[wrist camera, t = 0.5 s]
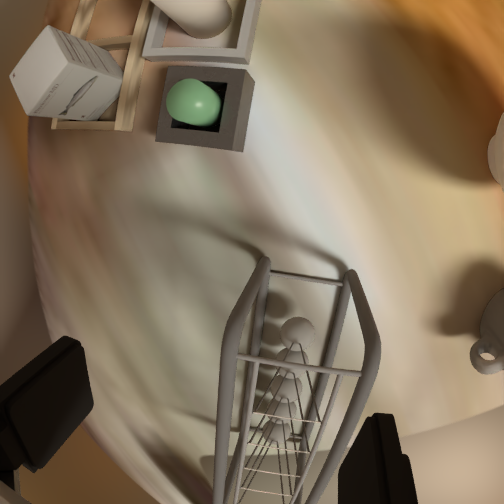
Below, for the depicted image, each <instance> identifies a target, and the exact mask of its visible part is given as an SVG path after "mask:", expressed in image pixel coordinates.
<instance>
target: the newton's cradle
mask: <svg viewBox="0 0 504 504" xmlns="http://www.w3.org/2000/svg"><path fill="white" fill-rule="evenodd" d="M270 268H271V261H270V259H269V258H268V257H266V256H264V257H262V258H261V259H260V260H259V262H258V264H257V266H256V268H255V270H254V272H253V273H252V275H251V277H250V279H249V281H248V283H247V285H246V286H245V288H244V290H243V292H242V294H241V296H240V298H239V299H238V301H237V303H236V305H235V307H234V309H233V310H232V312H231V314H230V316H229V319H228V321H227V324H226V327H225V331H224V335H223V340H222V347H221V357H220V372H219V387H218V403H217V420H216V438H215V458H214V479H213V502H212V504H227V502H228V499H229V495H230V492H231V489H232V486H233V482H234V479H235V475H236V472H237V469H238V475H237V482H236V488H235V494H234V501H233V504H239V503H240V502H241V500H242V498H243V497H244V495H245V493H246V491H247V489H248V488H249V485H250V484H251V482H252V480H253V478H254V476H255V474H256V472H257V471H261V470H258V468H259V467H260V465H261V463H262V461H263V459H264V457H265V455H266V453H267V451H268V449H269V448H275V447H270V445H271V444H277V448H275V449H278V459H279V469H280V473H274V474H280V477H281V478H280V479H281V489H282V494H280V495H282V498H283V504H284V494H283V485H282V475H287V474H281V466H280V456H279V449H281V450H285V451H286V459H287V468H288V476H289V486H290V495H286V496H292V499H291V501H290V503H289V504H301V499H302V490H303V481H304V479H305V477H306V475H307V472H308V470H309V468H310V465H311V463H312V460H313V458H314V455H315V453H316V450H317V448H318V445H319V443H320V440H321V438H322V435H323V432H324V430H325V427H326V424H327V422H328V419H329V416H330V413H331V411H332V408H333V405H334V402H335V399H336V396H337V393H338V390H339V387H340V384H341V381H342V378H343V375H347V376H356V377H359V379H358V382H357V385H356V387H355V390H354V393H353V396H352V398H351V401H350V404H349V406H348V409H347V411H346V414H345V417H344V419H343V422H342V424H341V427H340V429H339V431H338V434H337V436H336V439H335V441H334V443H333V446H332V448H331V450H330V452H329V455H328V457H327V459H326V462H325V464H324V466H323V468H322V470H321V472H320V474H319V476H318V478H317V481H316V483H315V485H314V487H313V489H312V491H311V493H310V495H309V497H308V499H307V500H306V503H305V504H317V502H318V501H319V499H320V497H321V495H322V493H323V492H324V490H325V488H326V486H327V485H328V483H329V481H330V479H331V477H332V475H333V473H334V471H335V469H336V467H337V465H338V463H339V462H340V459H341V457H342V455H343V453H344V451H345V449H346V447H347V445H348V443H349V441H350V439H351V436H352V434H353V432H354V430H355V428H356V425H357V423H358V421H359V419H360V416H361V414H362V412H363V409H364V407H365V404H366V402H367V399H368V397H369V394H370V392H371V389H372V387H373V384H374V382H375V379H376V376H377V373H378V369H379V364H380V359H381V340H380V336H379V333H378V330H377V327H376V324H375V321H374V318H373V315H372V313H371V310H370V307H369V304H368V301H367V299H366V296H365V293H364V291H363V288H362V285H361V283H360V280H359V277H358V275H357V273H356V271H355V270H353V269H350V270H348V271H347V272H346V274H345V276H344V280H343V283H341V282H334V281H327V280H321V279H314V278H307V277H301V276H294V275H288V274H281V273H275V272H270ZM270 275H271V276H278V277H284V278H290V279H297V280H304V281H310V282H317V283H323V284H330V285H337V286H342V288H341V293H340V298H339V302H338V307H337V311H336V316H335V320H334V324H333V328H332V332H331V337H330V341H329V345H328V348H327V352H326V356H325V360H324V364H323V367H322V366H314V365H308V363H309V362H308V357H307V355H306V353H305V352H304V351H303V350H305V349H307V348H308V347H310V346H311V344H312V343H313V341H314V338H315V329H314V326H313V325H312V323H311V322H310V321H309V320H307V319H305V318H302V317H293V318H291V319H289V320H287V321H286V322H285V323H284V324H283V326H282V328H281V331H280V337H281V341H282V343H283V344H284V346H285V347H286V348H284V349H283V350H281V351H280V352H279V353H278V355H277V357H276V360H275V359H269V358H263V357H259V350H260V343H261V336H262V329H263V321H264V314H265V307H266V299H267V292H268V284H269V277H270ZM351 292H352V296H353V300H354V303H355V307H356V311H357V315H358V318H359V322H360V326H361V330H362V334H363V338H364V343H365V353H364V361H363V366H362V370H361V371H355V370H346V369H337V368H332V364H333V361H334V357H335V353H336V350H337V346H338V342H339V338H340V335H341V331H342V327H343V323H344V319H345V315H346V310H347V306H348V302H349V297H350V293H351ZM256 295H257V301H256V309H255V317H254V326H253V334H252V342H251V350H250V355H247V354H241V353H238V350H239V343H240V338H241V334H242V330H243V326H244V323H245V321H246V318H247V316H248V314H249V311H250V309H251V307H252V304H253V302H254V300H255V297H256ZM237 359H241V360H247V361H249V366H248V374H247V382H246V389H245V397H244V405H243V413H242V420H241V428H240V433H239V438H238V442H237V445H236V448H235V451H234V455H233V458H232V461H231V464H230V468H229V471H228V474H227V477H226V467H227V457H228V447H229V437H230V427H231V417H232V407H233V397H234V387H235V377H236V368H237ZM259 363H263V364H269V365H275V366H276V369H277V372H276V374H275V376H274V378H273V379H272V381H271V383H270V385H269V386H268V388H267V390H266V392H265V393H264V395H263V397H262V399H261V400H260V402H259V404H258V406H257V407H256V409H255V411H253V412H252V409H253V402H254V396H255V389H256V382H257V376H258V369H259ZM308 371H314V372H321V375H320V379H319V382H318V386H317V389H316V393H315V396H314V393H313V389H312V385H311V381H310V377H309V373H308ZM278 372H279V374H280V375H278V376H277V374H278ZM305 372H306V373H307V377H308V381H309V385H310V389H311V393H312V397H313V403H312V406H311V410H310V413H309V416H308V419H307V420H304V419H303V414H302V409H301V403H300V398H299V396H300V395H301V392H302V383H301V381H300V379H299V378H298V377H300V376H302V375H303V374H304V373H305ZM330 374H337V378H336V381H335V384H334V387H333V390H332V393H331V397H330V400H329V403H328V406H327V409H326V412H325V414H324V417H323V420H322V422H321V421H320V417H319V413H318V410H319V407H320V404H321V401H322V398H323V395H324V391H325V388H326V385H327V381H328V378H329V375H330ZM270 387H271V393H272V395H273V399H272V400H271V401H270V402H269V403H268V406H267V411H266V412H265V414H262V413H257V412H256V411H257V410H258V408H259V406H260V404H261V403H262V401H263V399H264V397H265V396H266V394H267V392H268V390H269V388H270ZM297 398H298V402H299V407H300V412H301V418H302V420H301V419H294V417H295V415H296V405H295V403H294V402H293V401H295V400H296V399H297ZM252 413H256V414H261V415H264V416H263V418H262V420H261V422H260V423H259V425H258V427H257V429H252V428H250V421H251V415H252ZM266 415H267V416H268V417H269V419H270V420H269V421H267V422H266V423H265V425H264V427H263V430H258V429H259V427H260V425H261V423H262V422H263V420H264V418H265V416H266ZM316 417H318V421H319V422H317V421H315V420H316ZM292 420H299V421H302V423H303V428H304V432H303V435H302V436H295V435H294V430H293V424H292ZM290 421H291V427H292V434H293V435H290V432H291V431H290V426H289V424H288V422H290ZM304 421H307V423H306V426H305V424H304ZM314 423H321V426H320V429H319V431H318V434H317V437H316V440H315V442H314V445H313V448H312V450H311V452H310V451H309V445H308V440H309V437H310V434H311V431H312V429H313V426H314ZM249 431H255V432H254V434H253V436H252V438H251V440H250V441H249V442H247V440H248V434H249ZM257 432H260V433H263V434H262V436H261V438H260V440H259V442H258V444H252V443H251V442H252V440H253V438H254V436H255V434H256V433H257ZM263 437H264V438H265V440H266V441H265V443H264V445H259V443H260V441H261V440H262V438H263ZM289 437H292V438H293V441H294V448H295V450H289V449H287V447H286V440H287V439H288V438H289ZM295 438H299V439H301V442H300V447H299V451H297V450H296V444H295ZM267 441H268V442H269V443H270V444H269V446H265V444H266V442H267ZM283 442H285V449H282V448H279V446H278V444H281V443H283ZM247 444H252V445H257V446H256V447H255V449H254V451H253V453H252V455H251V457H250V459H249V460H248V462H247V464H246V466H245V467H243V465H244V458H245V453H246V446H247ZM258 446H263V447H262V449H261V451H260V453H259V455H258V457H257V459H256V461H255V463H254V465H253V466H252V468H251V469H250V468H246V467H247V465H248V464H249V462H250V460H251V458H252V456H253V454H254V453H255V451H256V449H257V447H258ZM264 447H268V448H267V450H266V452H265V454H264V456H263V458H262V461H261V463H260V464H259V466H258V468H257V470H255V469H253V467H254V466H255V464H256V462H257V460H258V458H259V456H260V454H261V452H262V450H263V448H264ZM306 449H307V450H308V452H306ZM287 450H288V451H295V455H296V461H297V472H296V476H295V475H290V473H289V465H288V456H287ZM297 452H299V453H298V457H297ZM306 453H310V455H309V458H308V460H307V463H306V466H305V458H306ZM238 465H239V468H238ZM243 468H245V469H250V472H249V474H248V476H247V477H246V479H245V481H244V483H243V485H242V486H241V487H240V483H241V476H242V471H243ZM252 470H255V471H256V472H255V474H254V475H253V477H252V479H251V481H250V483H249V485H248V487H247V488H243V489H246V490H245V492H244V494H243V496H242V498H241V499H240V501H239V503H237V500H238V494H239V488H242V487H243V486H244V484H245V482H246V480H247V479H248V477H249V475H250V473H251V471H252ZM261 472H267V471H261ZM267 473H273V472H267ZM290 476H295V477H296V480H295V488H294V494H293V495H292V490H291V483H290V482H291V481H290ZM225 477H226V480H225ZM248 490H253V489H248ZM253 491H258V490H253ZM259 492H264V491H259ZM266 493H271V492H266ZM272 494H276V493H272Z"/></svg>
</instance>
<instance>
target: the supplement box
mask: <svg viewBox="0 0 504 504" xmlns="http://www.w3.org/2000/svg"><path fill="white" fill-rule="evenodd" d="M123 76H124V72H123V71H122V69H121V68H120V66H119V65H118V64H117V62H116V61H115V60H114V58H113V57H112V56H111V54H110V53H109V52H108V51H106V50H105V49H102V48H100V47H98V46H96V45H94V44H92V43H89V42H87V41H85V40H82V39H80V38H78V37H75V36H73V35H70V34H68V33H65V32H63V31H60V30H58V29H56V28H53V27H51V26H49V25H47V26H46V27H45V28H44V30H43V31H42V32H41V33H40V35H39V36H38V37H37V38H36V40H35V41H34V42H33V43H32V45H31V46H30V47H29V49H28V50H27V51H26V53H25V54H24V55H23V57H22V58H21V60H20V61H19V62H18V64H17V65H16V67H15V68H14V70H13V71H12V72H11V74H10V76H9V77H10V80H11V82H12V85H13V87H14V89H15V91H16V94H17V96H18V98H19V100H20V102H21V104H22V107H23V108H24V111H25V113H26V114H27V116H40V117H52V118H62V119H72V120H81V121H97V120H98V118H99V117H100V116H101V115H102V114H103V112H104V111H105V110H106V109H107V108H108V107H109V106H110V105H111V104H112V103H113V102H114V101H115V100H116V99H117V98H118V97H119V96H120V91H121V86H122V81H123Z"/></svg>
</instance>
